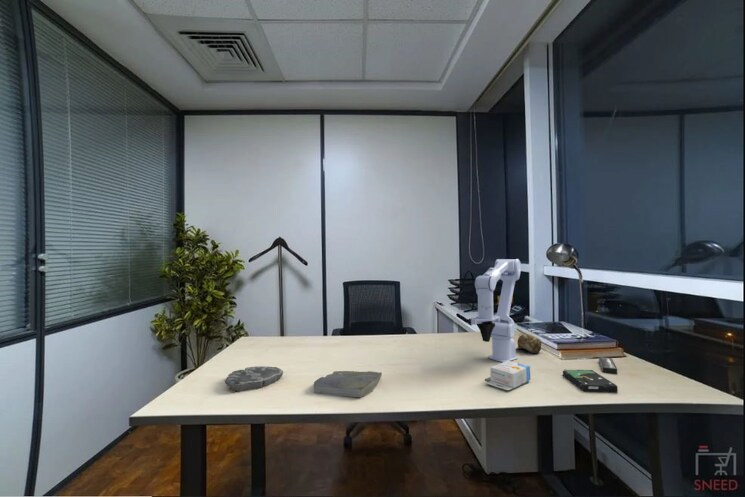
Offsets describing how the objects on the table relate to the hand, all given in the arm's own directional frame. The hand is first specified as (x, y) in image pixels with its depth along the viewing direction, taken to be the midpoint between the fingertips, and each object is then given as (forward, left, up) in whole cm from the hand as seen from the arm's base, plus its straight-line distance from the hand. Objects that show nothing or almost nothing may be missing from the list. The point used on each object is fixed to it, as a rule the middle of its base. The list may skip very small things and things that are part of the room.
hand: (486, 341), depth 127 cm
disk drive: (-16, +29, -11) cm, 35 cm away
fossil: (+54, -14, -11) cm, 57 cm away
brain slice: (+81, -36, -11) cm, 89 cm away
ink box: (-1, +13, -8) cm, 15 cm away
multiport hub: (-39, +25, -11) cm, 48 cm away
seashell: (-34, -5, -11) cm, 36 cm away
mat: (+6, +13, -10) cm, 18 cm away
